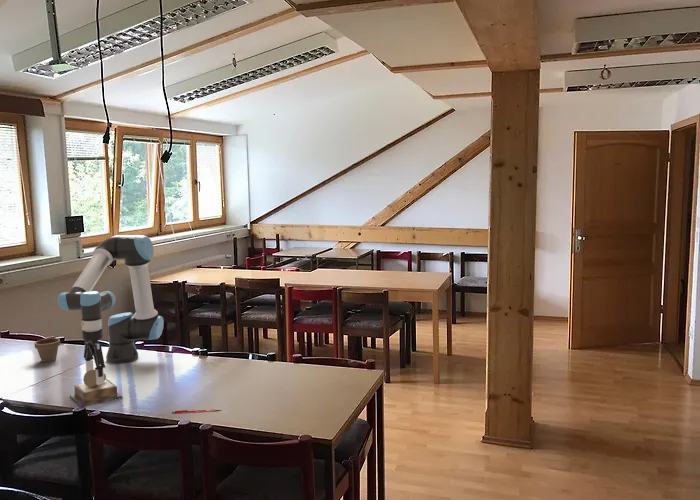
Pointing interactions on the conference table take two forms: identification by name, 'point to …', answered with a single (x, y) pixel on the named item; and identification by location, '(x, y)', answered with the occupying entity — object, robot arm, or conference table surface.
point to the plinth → (95, 394)
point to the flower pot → (47, 349)
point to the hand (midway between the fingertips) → (95, 379)
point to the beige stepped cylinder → (91, 378)
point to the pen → (188, 411)
